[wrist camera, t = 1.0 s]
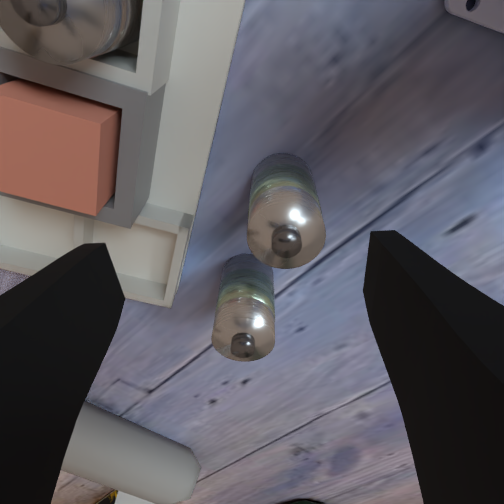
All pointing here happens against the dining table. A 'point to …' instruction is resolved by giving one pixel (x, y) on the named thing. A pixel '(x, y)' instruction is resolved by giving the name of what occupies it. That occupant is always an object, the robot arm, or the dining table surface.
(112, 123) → the pad
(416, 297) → the robot arm
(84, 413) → the tube
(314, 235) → the cell
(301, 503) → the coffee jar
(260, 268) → the cell
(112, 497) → the medicine bottle
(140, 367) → the dining table surface
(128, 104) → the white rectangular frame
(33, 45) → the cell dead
